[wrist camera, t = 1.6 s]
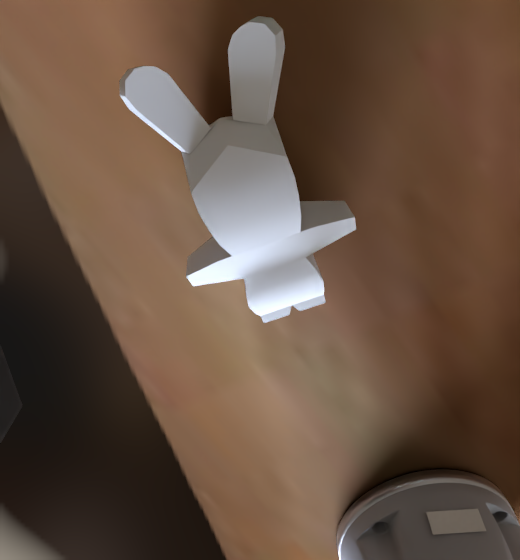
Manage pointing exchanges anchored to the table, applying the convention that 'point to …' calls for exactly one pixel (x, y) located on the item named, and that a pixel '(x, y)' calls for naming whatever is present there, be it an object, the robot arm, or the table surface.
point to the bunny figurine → (244, 178)
